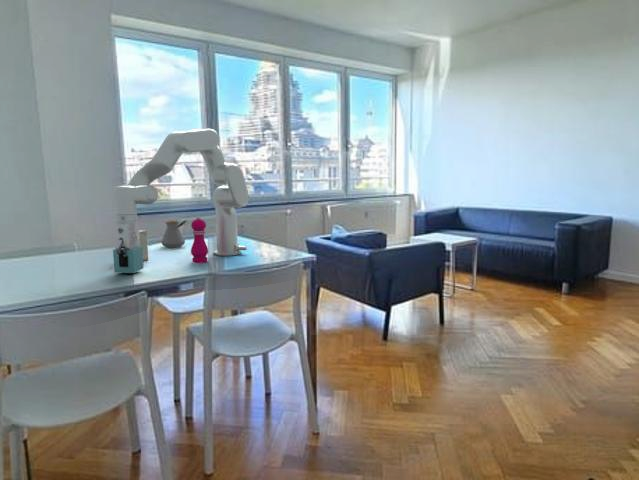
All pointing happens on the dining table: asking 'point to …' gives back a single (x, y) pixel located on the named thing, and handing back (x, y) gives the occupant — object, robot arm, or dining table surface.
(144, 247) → the supplement box
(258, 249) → the dining table surface
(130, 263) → the teal square block
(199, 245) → the pepper mill
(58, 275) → the dining table surface
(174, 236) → the coffee pot
